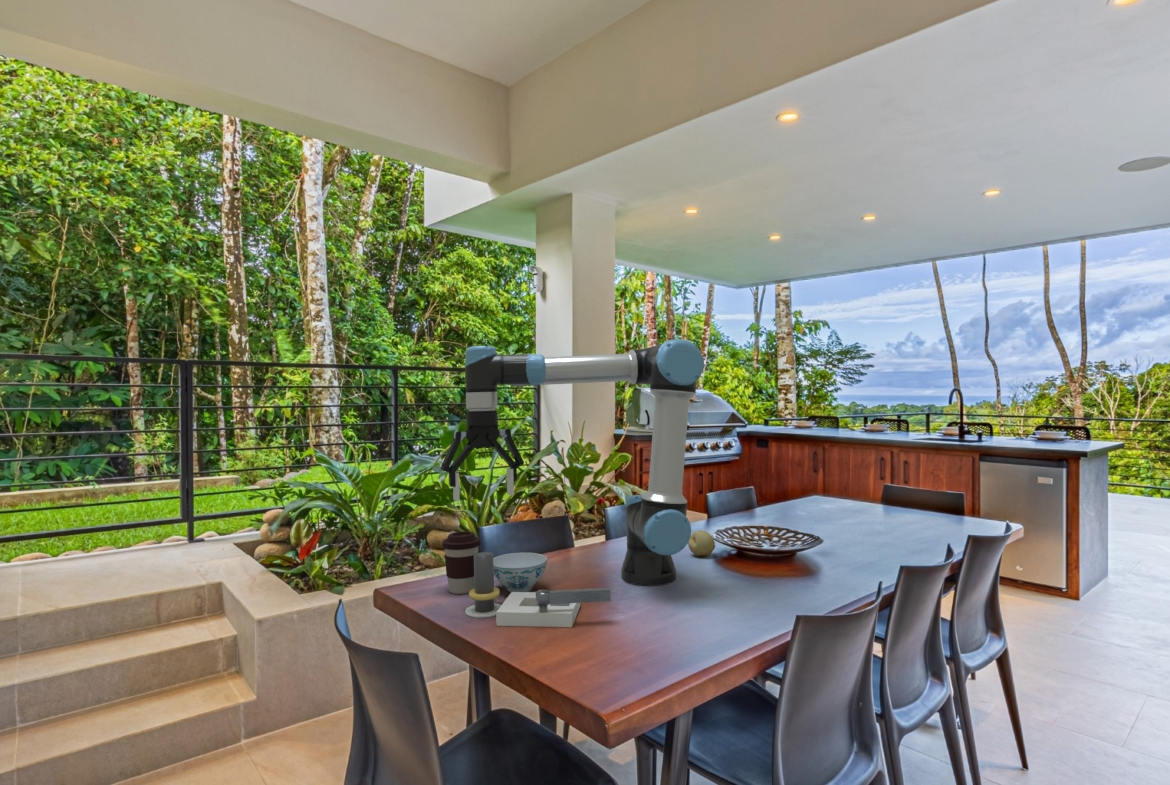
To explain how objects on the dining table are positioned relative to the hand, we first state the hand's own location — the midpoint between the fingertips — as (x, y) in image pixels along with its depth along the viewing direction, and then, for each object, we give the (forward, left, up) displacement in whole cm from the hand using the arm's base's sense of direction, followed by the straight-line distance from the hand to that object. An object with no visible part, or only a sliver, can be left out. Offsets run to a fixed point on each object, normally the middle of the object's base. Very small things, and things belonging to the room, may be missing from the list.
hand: (484, 497), depth 145 cm
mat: (0, +2, -27) cm, 27 cm away
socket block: (-14, +4, -27) cm, 30 cm away
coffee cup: (+10, -13, -27) cm, 32 cm away
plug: (0, +2, -26) cm, 26 cm away
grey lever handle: (-23, +9, -22) cm, 33 cm away
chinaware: (-5, -15, -27) cm, 31 cm away
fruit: (-55, -49, -27) cm, 78 cm away
